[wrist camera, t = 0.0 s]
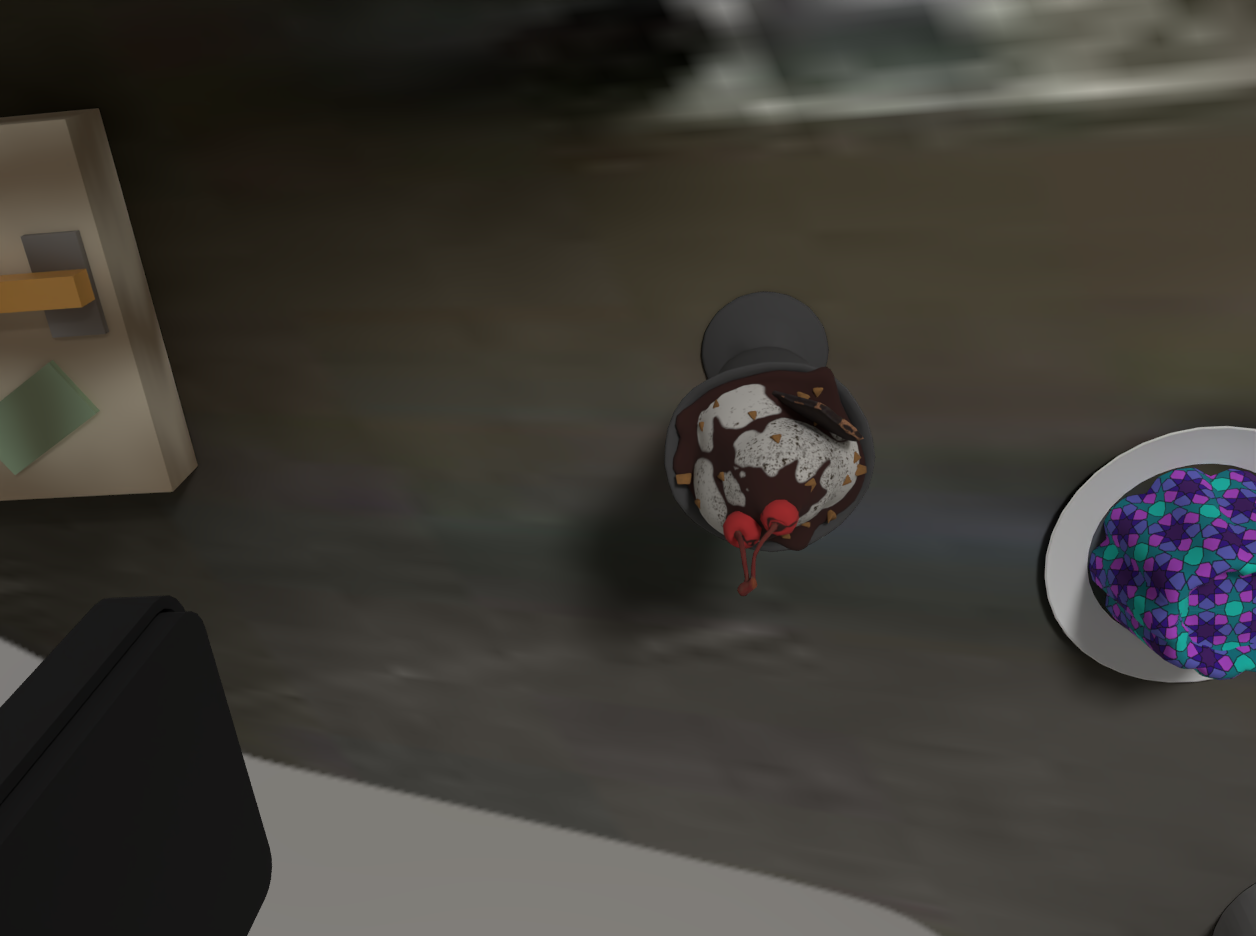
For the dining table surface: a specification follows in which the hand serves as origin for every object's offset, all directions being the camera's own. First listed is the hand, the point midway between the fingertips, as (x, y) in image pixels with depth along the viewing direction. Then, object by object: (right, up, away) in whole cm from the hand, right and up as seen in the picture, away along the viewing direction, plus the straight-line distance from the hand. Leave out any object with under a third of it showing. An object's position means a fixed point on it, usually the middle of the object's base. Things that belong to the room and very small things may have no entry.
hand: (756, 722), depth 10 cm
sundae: (+4, +7, +37) cm, 38 cm away
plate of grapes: (+22, -1, +40) cm, 46 cm away
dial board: (-27, +9, +39) cm, 49 cm away
